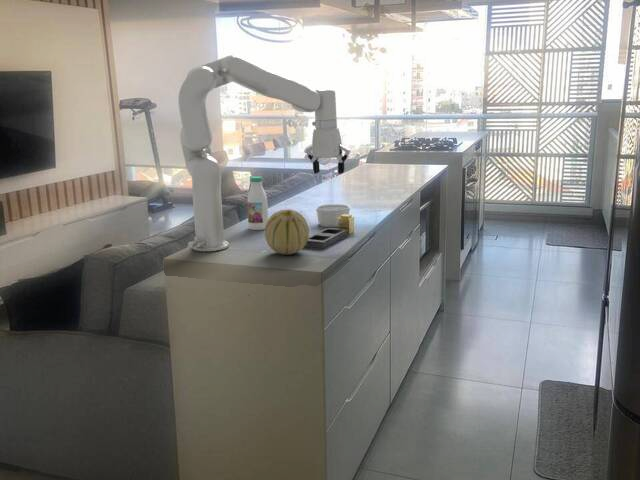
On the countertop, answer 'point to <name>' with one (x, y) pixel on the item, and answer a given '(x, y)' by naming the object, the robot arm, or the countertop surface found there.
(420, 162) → the countertop surface
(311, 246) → the grey board with holes
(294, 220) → the cantaloupe
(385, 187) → the countertop surface
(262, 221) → the milk bottle
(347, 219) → the yellow rectangular block
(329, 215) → the ramekin
